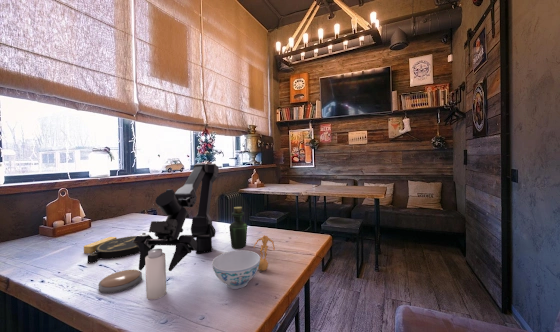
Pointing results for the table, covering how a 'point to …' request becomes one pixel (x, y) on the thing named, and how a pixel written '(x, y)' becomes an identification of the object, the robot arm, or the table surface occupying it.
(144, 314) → the table surface
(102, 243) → the decorative sign
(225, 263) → the chinaware
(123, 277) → the display plinth
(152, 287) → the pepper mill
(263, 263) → the figurine
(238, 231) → the potion bottle
